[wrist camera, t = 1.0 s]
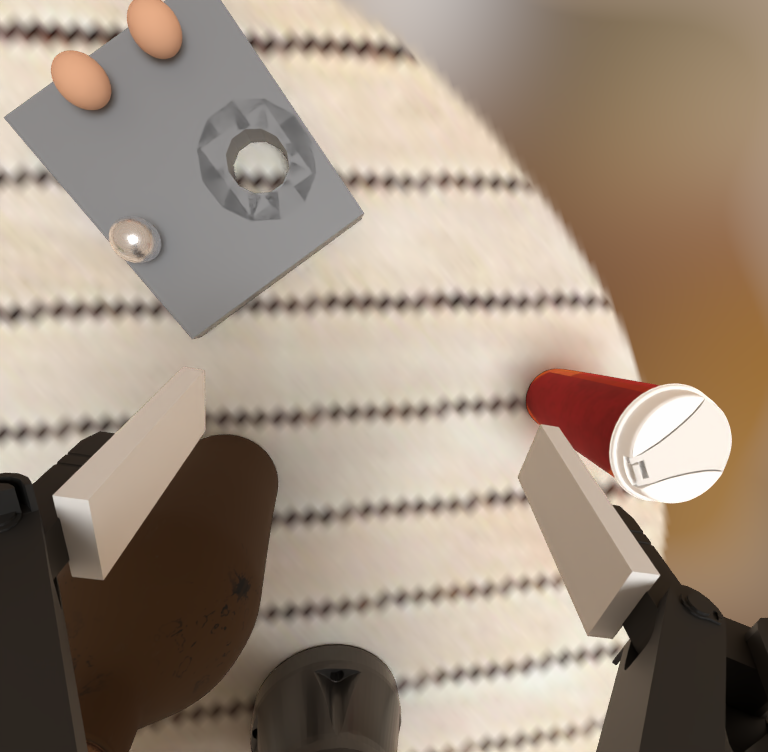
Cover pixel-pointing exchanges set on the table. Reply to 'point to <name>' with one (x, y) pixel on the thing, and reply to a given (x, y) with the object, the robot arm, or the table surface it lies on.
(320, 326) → the table surface
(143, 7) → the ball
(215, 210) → the plate
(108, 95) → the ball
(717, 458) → the coffee cup
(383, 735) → the robot arm
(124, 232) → the ball
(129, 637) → the olive oil
